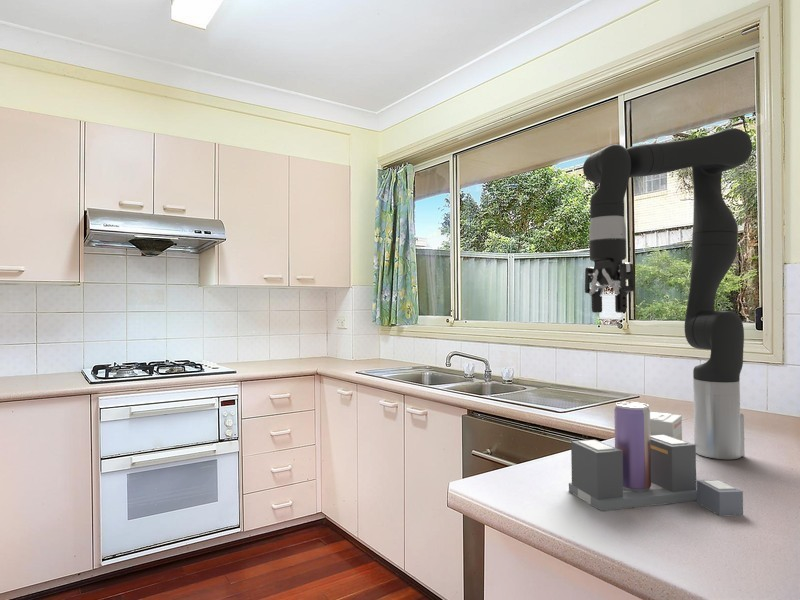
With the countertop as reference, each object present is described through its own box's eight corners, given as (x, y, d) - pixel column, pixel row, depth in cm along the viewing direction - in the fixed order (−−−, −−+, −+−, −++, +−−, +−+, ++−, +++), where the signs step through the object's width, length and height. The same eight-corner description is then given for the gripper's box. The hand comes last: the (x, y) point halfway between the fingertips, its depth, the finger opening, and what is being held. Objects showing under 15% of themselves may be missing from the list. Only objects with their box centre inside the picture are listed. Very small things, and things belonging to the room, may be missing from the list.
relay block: (697, 503, 93) (696, 479, 93) (719, 502, 93) (718, 478, 93) (719, 516, 87) (719, 491, 87) (743, 515, 87) (742, 490, 87)
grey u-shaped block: (660, 482, 103) (659, 432, 104) (700, 500, 94) (699, 445, 94) (568, 491, 99) (568, 438, 99) (601, 510, 89) (600, 453, 89)
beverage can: (630, 494, 93) (629, 408, 93) (608, 483, 98) (607, 402, 99) (658, 490, 94) (657, 406, 94) (635, 480, 100) (634, 400, 100)
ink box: (640, 463, 116) (640, 409, 116) (683, 470, 111) (682, 414, 111) (629, 472, 109) (628, 416, 110) (674, 480, 104) (673, 421, 104)
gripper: (644, 234, 110) (645, 312, 110) (603, 243, 124) (603, 312, 124) (612, 234, 108) (613, 313, 108) (574, 242, 122) (575, 312, 122)
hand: (608, 312), depth 116 cm, fingers open, 8 cm apart
